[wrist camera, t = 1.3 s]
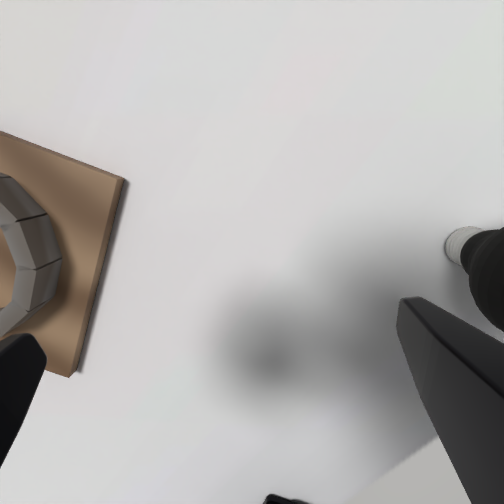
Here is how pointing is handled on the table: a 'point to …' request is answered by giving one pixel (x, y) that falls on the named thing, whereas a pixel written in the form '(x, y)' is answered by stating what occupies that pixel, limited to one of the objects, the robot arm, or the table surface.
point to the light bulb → (482, 267)
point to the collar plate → (77, 237)
